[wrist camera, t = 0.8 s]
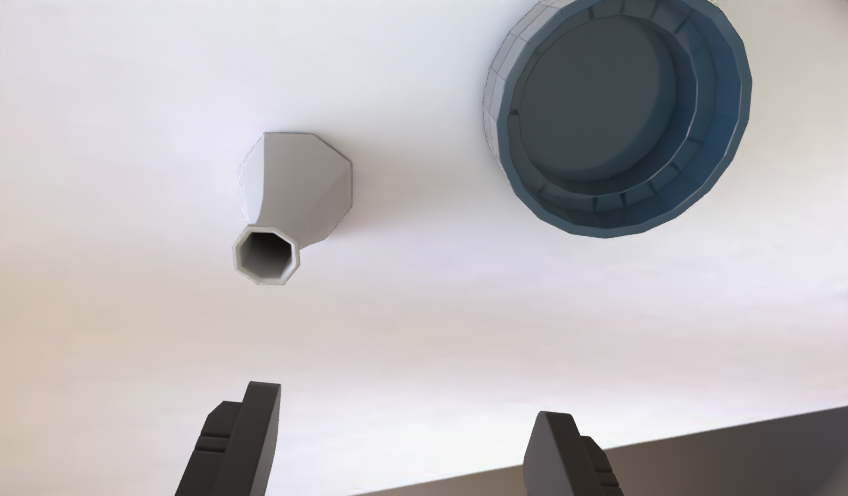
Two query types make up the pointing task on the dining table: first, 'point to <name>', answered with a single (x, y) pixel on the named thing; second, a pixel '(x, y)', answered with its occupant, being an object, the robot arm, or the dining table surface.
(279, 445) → the dining table surface
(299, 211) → the flask
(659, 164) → the bowl
